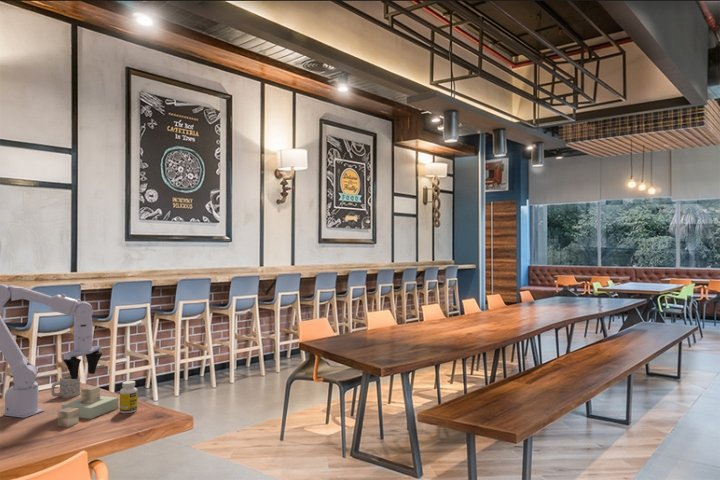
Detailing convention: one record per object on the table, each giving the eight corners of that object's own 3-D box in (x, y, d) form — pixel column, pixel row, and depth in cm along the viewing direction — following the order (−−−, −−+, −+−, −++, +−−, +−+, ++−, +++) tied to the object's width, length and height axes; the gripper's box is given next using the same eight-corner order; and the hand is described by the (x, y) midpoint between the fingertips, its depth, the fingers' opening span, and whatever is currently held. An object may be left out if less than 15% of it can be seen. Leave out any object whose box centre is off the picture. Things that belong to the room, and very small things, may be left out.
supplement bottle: (130, 414, 176) (130, 384, 176) (116, 413, 177) (116, 383, 177) (140, 409, 181) (140, 380, 181) (126, 408, 182) (126, 379, 183)
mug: (74, 391, 203) (74, 374, 203) (83, 394, 199) (83, 376, 199) (46, 398, 195) (46, 379, 195) (55, 401, 191) (55, 382, 191)
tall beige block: (81, 412, 178) (81, 388, 178) (90, 409, 181) (90, 385, 182) (90, 414, 176) (90, 389, 177) (99, 410, 180) (100, 386, 180)
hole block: (61, 415, 175) (61, 404, 175) (89, 404, 186) (89, 394, 186) (91, 418, 171) (91, 407, 172) (118, 407, 183) (118, 397, 183)
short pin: (58, 425, 165) (58, 411, 165) (68, 421, 169) (68, 407, 169) (68, 426, 164) (68, 412, 164) (78, 422, 168) (78, 408, 168)
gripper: (75, 341, 177) (75, 382, 177) (108, 334, 191) (108, 372, 191) (58, 340, 179) (58, 380, 179) (92, 333, 193) (92, 370, 193)
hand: (83, 376), depth 185 cm, fingers open, 7 cm apart
